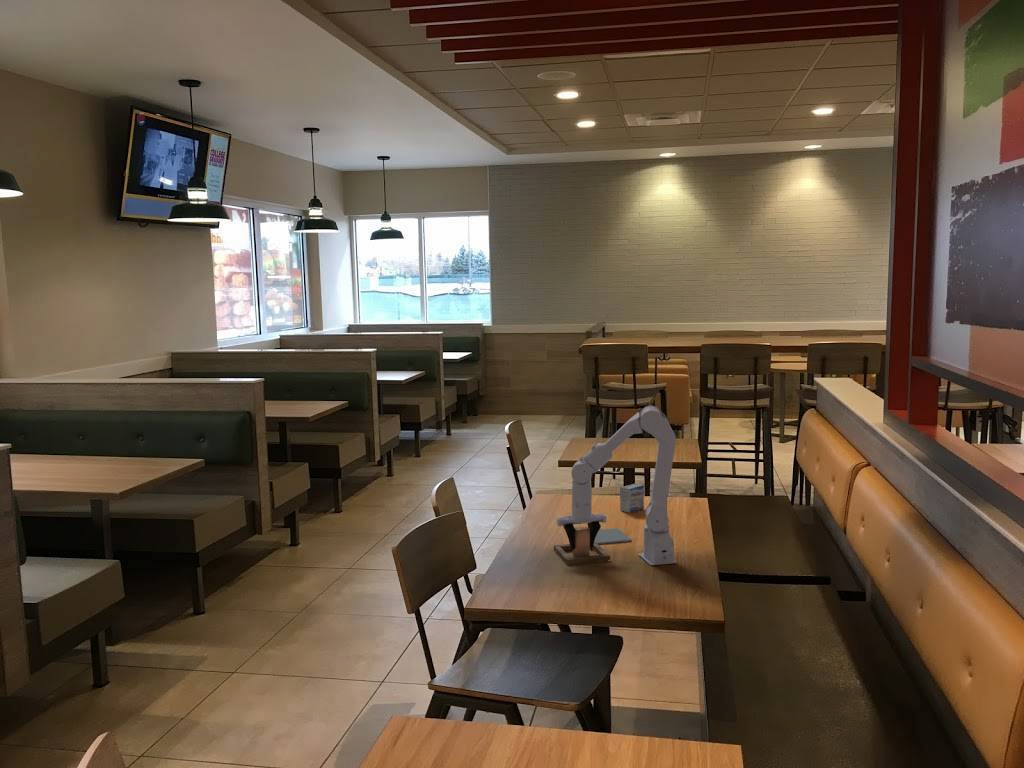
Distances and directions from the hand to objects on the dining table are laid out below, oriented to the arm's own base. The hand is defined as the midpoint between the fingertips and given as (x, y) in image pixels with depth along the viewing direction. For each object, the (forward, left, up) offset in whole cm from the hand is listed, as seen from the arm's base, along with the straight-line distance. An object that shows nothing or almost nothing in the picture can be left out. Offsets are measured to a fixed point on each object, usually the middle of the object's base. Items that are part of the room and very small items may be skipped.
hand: (581, 547), depth 239 cm
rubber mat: (+14, -13, -2) cm, 19 cm away
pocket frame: (0, 0, -2) cm, 2 cm away
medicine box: (+40, -32, -3) cm, 51 cm away
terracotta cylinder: (0, 0, -2) cm, 2 cm away
